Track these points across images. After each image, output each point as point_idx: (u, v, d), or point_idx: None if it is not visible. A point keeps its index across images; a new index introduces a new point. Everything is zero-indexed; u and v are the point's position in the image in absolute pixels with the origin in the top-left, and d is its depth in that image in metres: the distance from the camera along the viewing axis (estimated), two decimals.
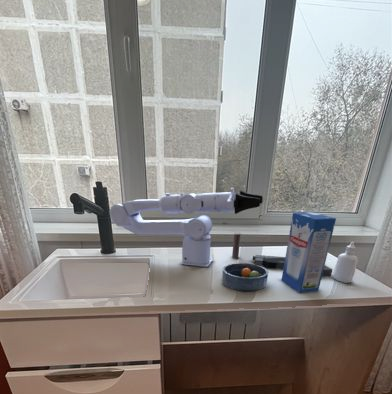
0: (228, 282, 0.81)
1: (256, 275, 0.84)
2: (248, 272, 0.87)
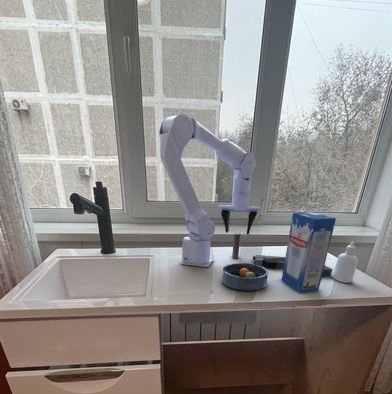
0: (228, 282, 0.81)
1: None
2: (245, 271, 0.86)
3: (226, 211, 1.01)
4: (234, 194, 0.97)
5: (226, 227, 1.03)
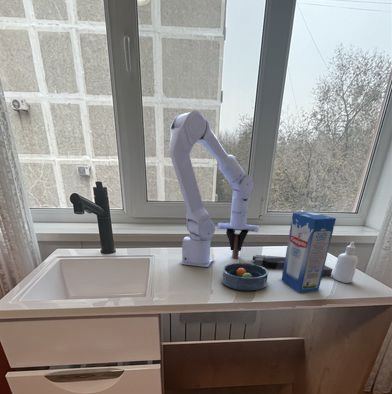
0: (228, 282, 0.81)
1: None
2: (240, 271, 0.87)
3: None
4: (232, 214, 1.00)
5: (231, 245, 1.06)
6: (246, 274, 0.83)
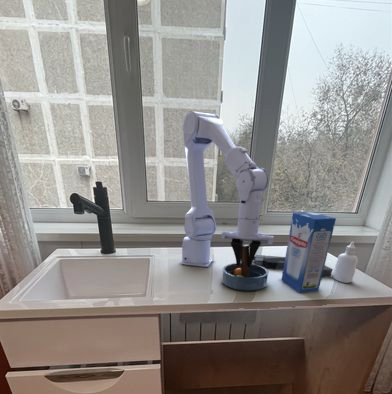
0: (228, 282, 0.81)
1: None
2: (236, 272, 0.87)
3: None
4: (240, 220, 0.78)
5: (237, 259, 0.84)
6: None
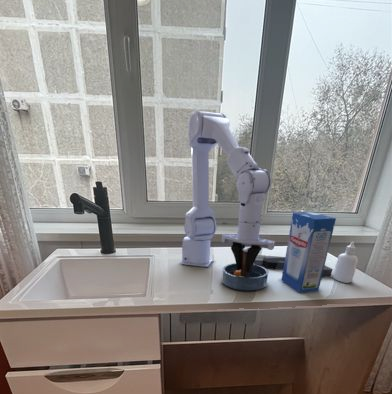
0: (228, 282, 0.81)
1: None
2: (234, 275, 0.86)
3: None
4: (239, 223, 0.74)
5: (237, 264, 0.80)
6: None
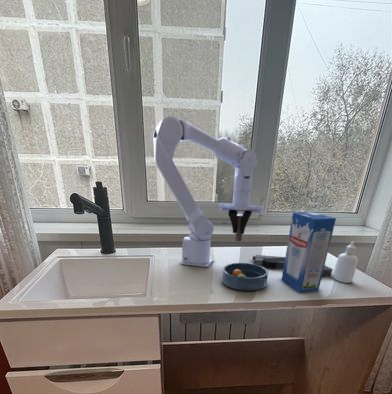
0: (228, 282, 0.81)
1: None
2: (233, 274, 0.86)
3: (227, 210, 0.98)
4: (235, 193, 0.93)
5: (233, 228, 0.99)
6: None
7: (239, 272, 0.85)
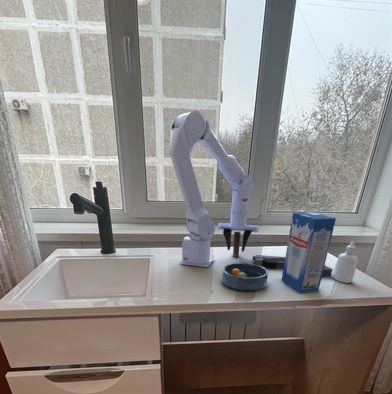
0: (228, 282, 0.81)
1: (246, 276, 0.84)
2: (231, 273, 0.87)
3: (225, 229, 1.04)
4: (232, 214, 1.00)
5: (228, 245, 1.06)
6: None
7: (237, 269, 0.86)
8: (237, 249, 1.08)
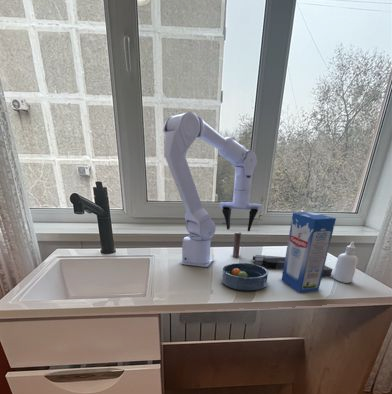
0: (228, 282, 0.81)
1: None
2: (232, 272, 0.87)
3: (227, 208, 1.02)
4: (235, 191, 0.98)
5: (227, 224, 1.05)
6: (241, 274, 0.84)
7: (237, 269, 0.87)
8: (237, 250, 1.08)
